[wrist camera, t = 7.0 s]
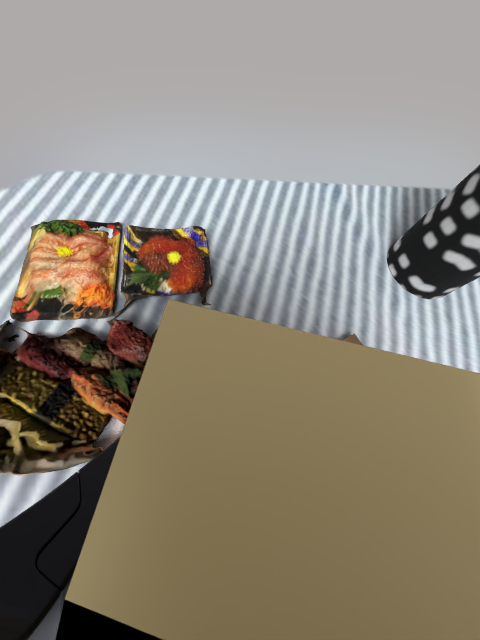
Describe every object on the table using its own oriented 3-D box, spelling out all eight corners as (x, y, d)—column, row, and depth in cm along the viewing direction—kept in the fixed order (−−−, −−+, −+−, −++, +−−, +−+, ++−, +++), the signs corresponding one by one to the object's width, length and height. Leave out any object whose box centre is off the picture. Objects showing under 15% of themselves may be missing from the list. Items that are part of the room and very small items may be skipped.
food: (228, 447, 21) (233, 450, 18) (-42, 479, 18) (-96, 491, 15) (212, 230, 29) (214, 205, 26) (25, 226, 26) (-1, 197, 23)
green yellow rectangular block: (251, 512, 13) (686, 1112, 2) (165, 496, 13) (-107, 1100, 1) (264, 420, 15) (503, 378, 3) (188, 404, 15) (168, 298, 3)
